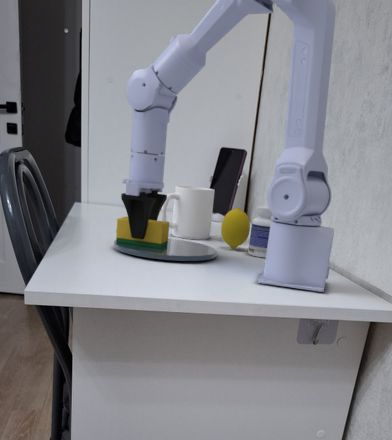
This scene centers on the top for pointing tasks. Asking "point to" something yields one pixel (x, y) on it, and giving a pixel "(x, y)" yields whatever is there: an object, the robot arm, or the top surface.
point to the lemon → (235, 228)
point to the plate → (171, 251)
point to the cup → (190, 212)
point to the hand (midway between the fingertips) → (142, 236)
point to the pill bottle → (260, 232)
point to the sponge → (153, 237)
